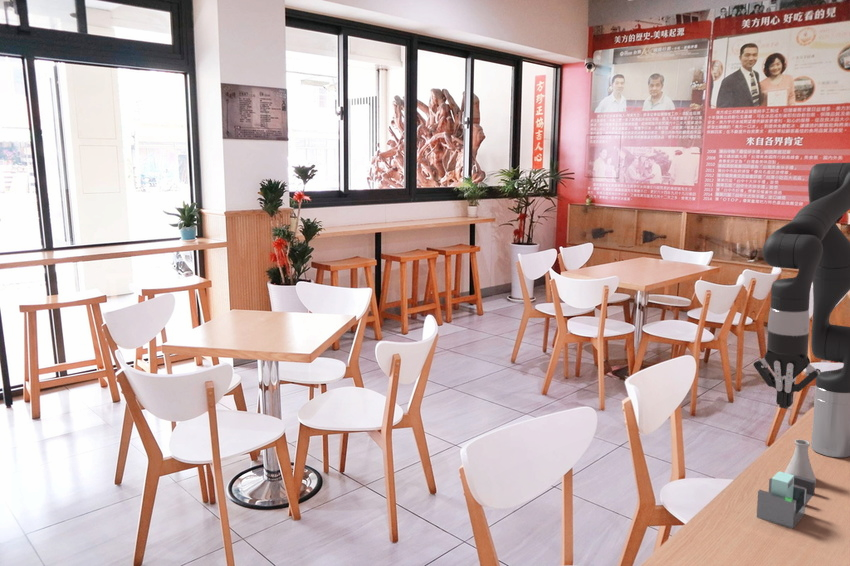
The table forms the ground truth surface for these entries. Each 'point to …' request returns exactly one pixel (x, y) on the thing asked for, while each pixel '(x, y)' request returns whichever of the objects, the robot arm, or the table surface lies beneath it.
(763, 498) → the port
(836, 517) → the table surface
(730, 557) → the table surface
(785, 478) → the plug
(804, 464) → the flask
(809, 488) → the grey ridged tray
